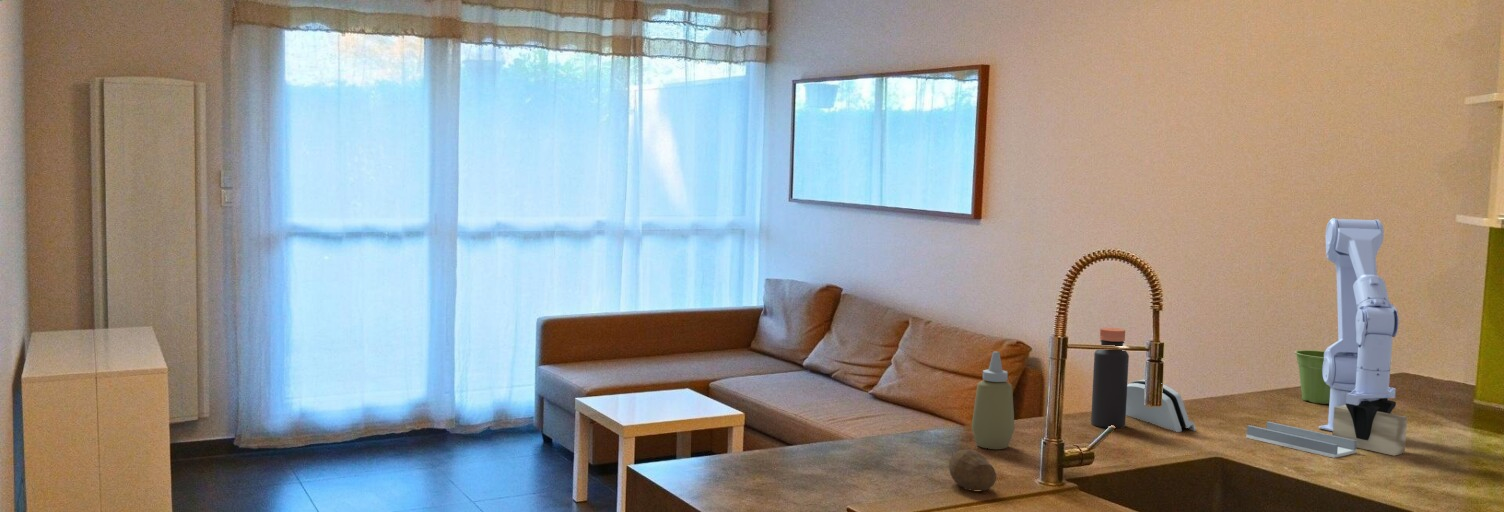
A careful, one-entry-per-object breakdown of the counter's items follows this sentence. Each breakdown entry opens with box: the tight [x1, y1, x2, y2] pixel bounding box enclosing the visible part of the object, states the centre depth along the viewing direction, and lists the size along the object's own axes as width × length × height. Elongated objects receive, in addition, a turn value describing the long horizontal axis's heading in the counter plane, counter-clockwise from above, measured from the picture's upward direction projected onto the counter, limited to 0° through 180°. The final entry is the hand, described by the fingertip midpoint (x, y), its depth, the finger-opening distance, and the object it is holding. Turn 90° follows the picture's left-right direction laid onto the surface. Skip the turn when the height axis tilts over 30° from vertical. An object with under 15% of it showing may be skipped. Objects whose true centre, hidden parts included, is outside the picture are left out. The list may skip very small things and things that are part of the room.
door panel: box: [1332, 405, 1408, 457], centre depth 225 cm, size 4×12×7 cm, turn 35°
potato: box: [948, 449, 997, 491], centre depth 190 cm, size 7×10×6 cm
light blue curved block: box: [1126, 379, 1197, 433], centre depth 242 cm, size 17×5×10 cm, turn 20°
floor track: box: [1245, 421, 1358, 459], centre depth 226 cm, size 8×18×2 cm, turn 35°
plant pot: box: [1294, 349, 1349, 405], centre depth 270 cm, size 12×12×11 cm
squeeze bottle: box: [971, 351, 1015, 450], centre depth 218 cm, size 8×8×18 cm
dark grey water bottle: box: [1090, 327, 1130, 429], centre depth 238 cm, size 7×7×20 cm
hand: (1368, 437), depth 225 cm, fingers closed on door panel, 4 cm apart
